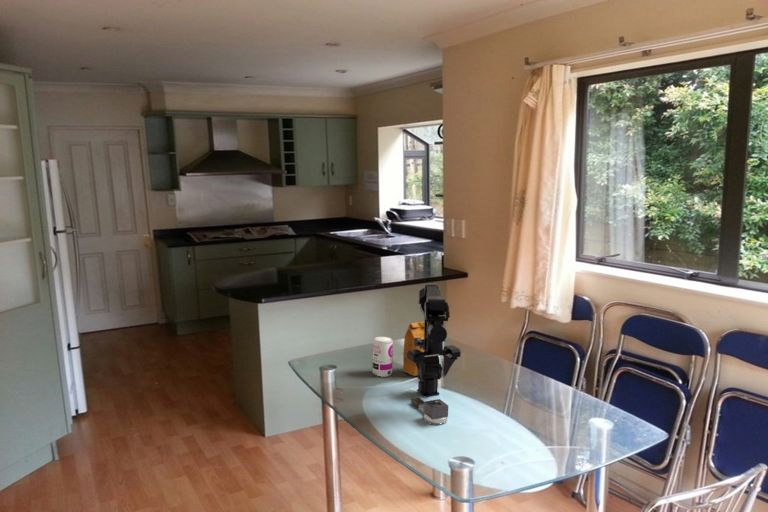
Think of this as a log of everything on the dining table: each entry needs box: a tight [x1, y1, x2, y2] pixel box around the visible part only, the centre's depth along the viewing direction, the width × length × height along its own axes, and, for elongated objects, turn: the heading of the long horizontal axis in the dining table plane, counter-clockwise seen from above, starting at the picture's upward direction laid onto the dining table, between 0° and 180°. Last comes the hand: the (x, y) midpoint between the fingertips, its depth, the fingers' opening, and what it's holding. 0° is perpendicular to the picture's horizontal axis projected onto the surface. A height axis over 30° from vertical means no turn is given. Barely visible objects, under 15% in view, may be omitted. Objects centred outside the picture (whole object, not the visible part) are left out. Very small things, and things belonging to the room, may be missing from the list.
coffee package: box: [402, 320, 424, 377], centre depth 245 cm, size 10×12×22 cm
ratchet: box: [410, 397, 449, 425], centre depth 206 cm, size 8×20×6 cm, turn 24°
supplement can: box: [372, 336, 394, 378], centre depth 243 cm, size 8×8×15 cm
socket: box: [423, 398, 449, 420], centre depth 200 cm, size 6×6×4 cm
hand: (433, 377), depth 208 cm, fingers open, 9 cm apart
